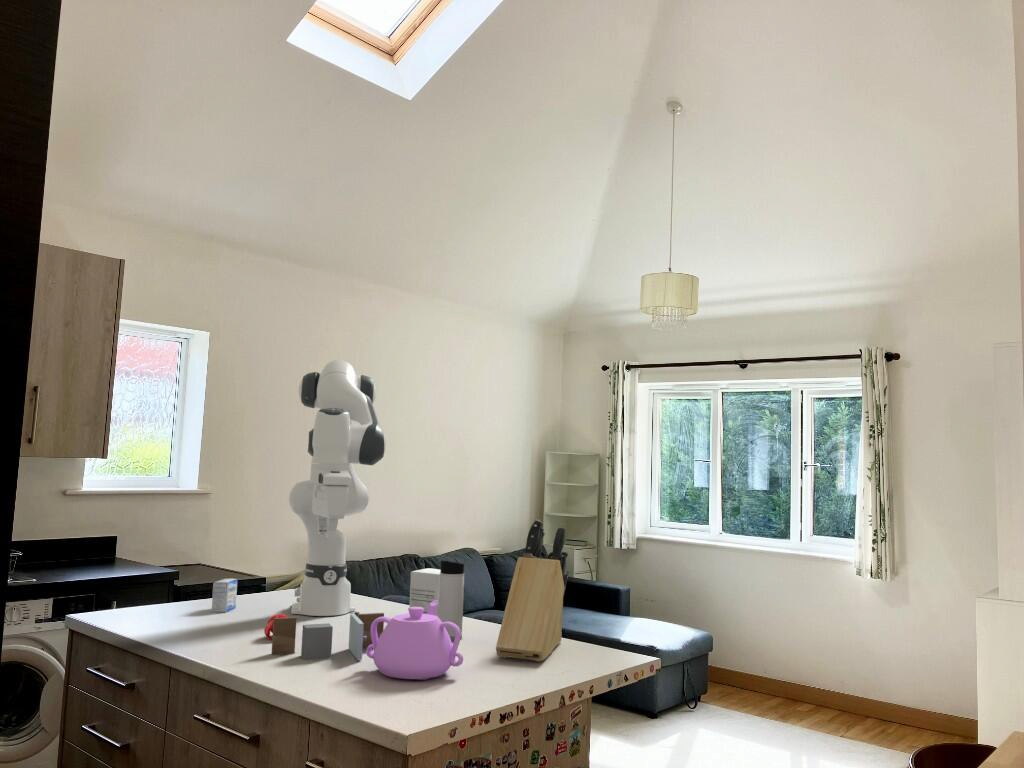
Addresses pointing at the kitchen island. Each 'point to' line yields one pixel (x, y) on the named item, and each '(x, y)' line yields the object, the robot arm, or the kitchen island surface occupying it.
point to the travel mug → (451, 595)
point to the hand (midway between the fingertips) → (326, 536)
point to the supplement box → (425, 588)
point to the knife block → (535, 600)
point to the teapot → (414, 645)
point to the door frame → (287, 632)
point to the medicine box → (224, 595)
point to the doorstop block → (316, 641)
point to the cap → (271, 625)
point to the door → (356, 636)
